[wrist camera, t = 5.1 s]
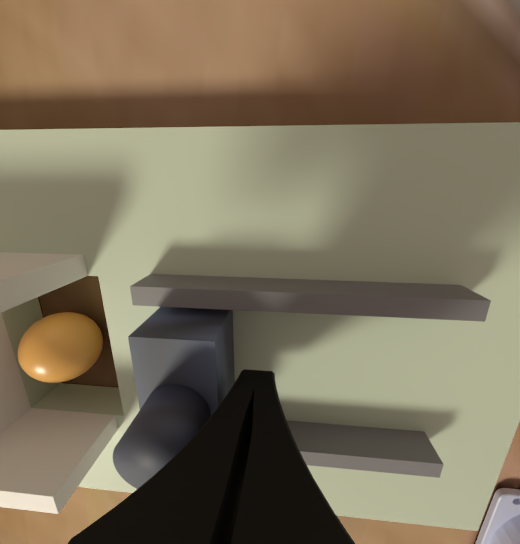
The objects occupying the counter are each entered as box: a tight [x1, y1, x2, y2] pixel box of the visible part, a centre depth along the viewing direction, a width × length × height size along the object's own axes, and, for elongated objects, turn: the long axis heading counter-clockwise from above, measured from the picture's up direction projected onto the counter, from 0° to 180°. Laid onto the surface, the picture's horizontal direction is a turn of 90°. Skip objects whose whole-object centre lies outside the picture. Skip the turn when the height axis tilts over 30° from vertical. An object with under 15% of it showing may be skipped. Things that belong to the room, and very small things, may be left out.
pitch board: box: [0, 122, 520, 531], centre depth 13 cm, size 28×20×4 cm
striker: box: [113, 307, 235, 489], centre depth 10 cm, size 3×6×5 cm, turn 0°
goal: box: [0, 252, 118, 514], centre depth 11 cm, size 6×10×4 cm, turn 0°
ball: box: [18, 312, 103, 383], centre depth 13 cm, size 4×4×4 cm
